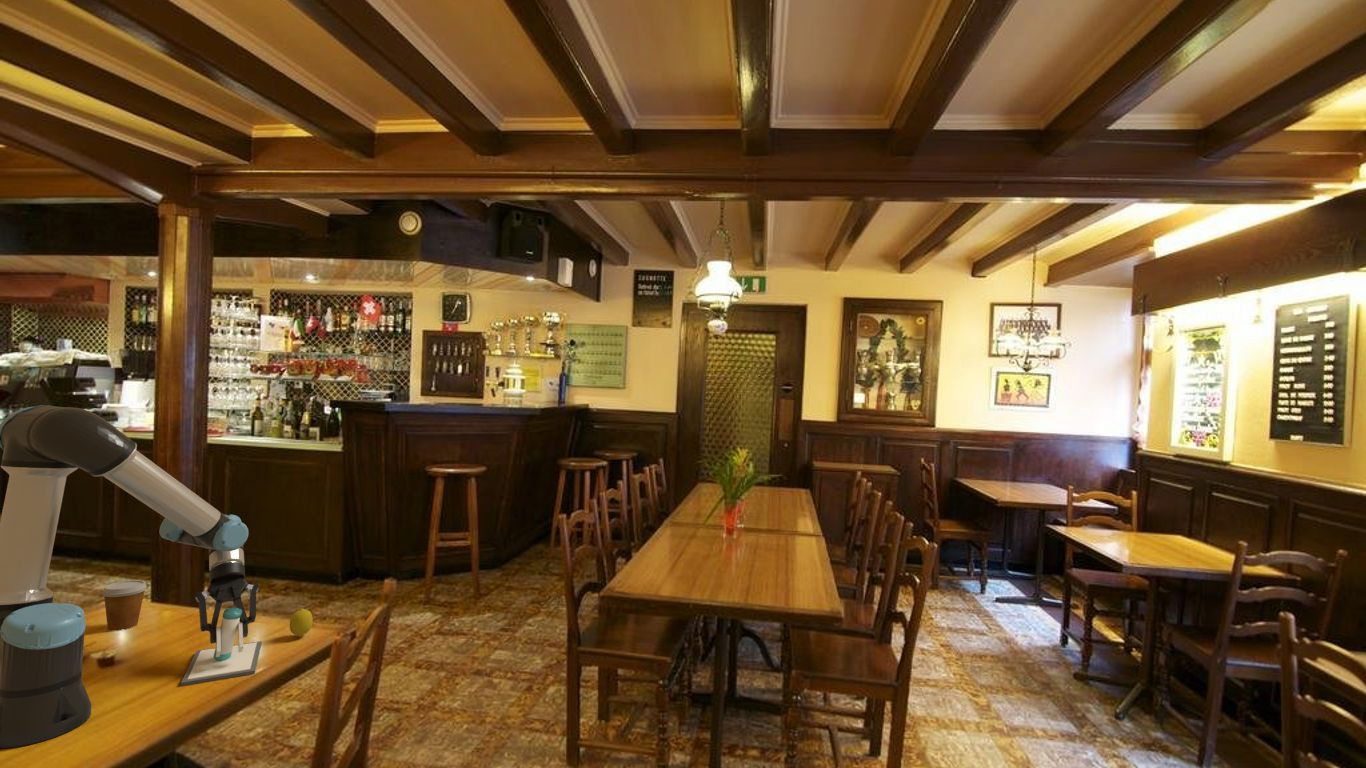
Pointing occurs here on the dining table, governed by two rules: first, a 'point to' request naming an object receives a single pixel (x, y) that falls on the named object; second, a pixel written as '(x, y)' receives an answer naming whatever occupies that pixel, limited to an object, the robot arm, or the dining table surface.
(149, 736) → the dining table surface
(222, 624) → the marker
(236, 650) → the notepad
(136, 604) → the disposable coffee cup
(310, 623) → the lemon
